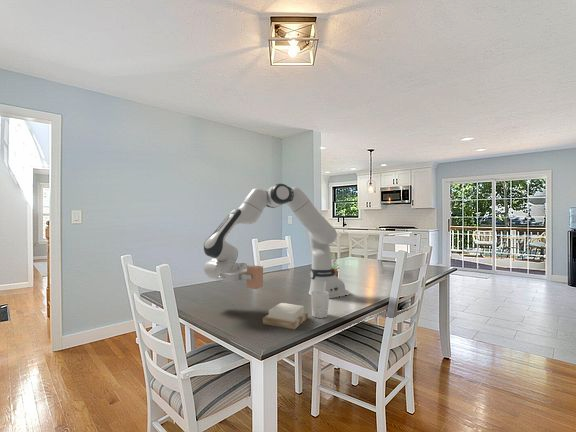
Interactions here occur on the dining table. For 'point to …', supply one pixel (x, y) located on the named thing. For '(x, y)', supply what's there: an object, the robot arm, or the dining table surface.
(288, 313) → the cream slab
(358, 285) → the dining table surface
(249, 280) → the terracotta pillar
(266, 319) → the oak slab
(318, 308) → the white cup
